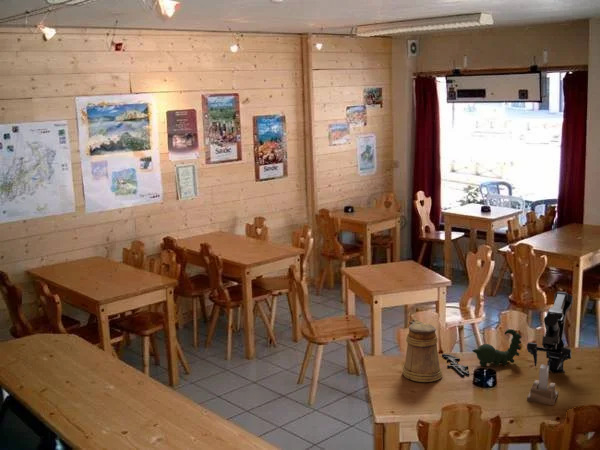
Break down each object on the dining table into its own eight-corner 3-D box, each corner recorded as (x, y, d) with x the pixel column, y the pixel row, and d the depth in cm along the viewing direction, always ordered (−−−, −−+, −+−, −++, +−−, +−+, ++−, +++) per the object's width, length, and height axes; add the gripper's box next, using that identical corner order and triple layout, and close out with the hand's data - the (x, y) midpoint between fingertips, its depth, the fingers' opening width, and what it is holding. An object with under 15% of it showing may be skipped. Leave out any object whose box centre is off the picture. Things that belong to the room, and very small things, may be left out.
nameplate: (435, 354, 365) (453, 352, 367) (434, 357, 365) (453, 355, 367) (457, 375, 339) (477, 373, 341) (457, 378, 339) (477, 376, 341)
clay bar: (540, 391, 319) (541, 364, 317) (547, 392, 318) (548, 365, 315) (538, 395, 315) (539, 367, 313) (545, 396, 314) (546, 369, 311)
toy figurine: (511, 362, 361) (465, 363, 355) (516, 326, 358) (470, 326, 352) (521, 369, 352) (474, 370, 346) (526, 332, 349) (479, 332, 343)
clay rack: (532, 389, 325) (533, 378, 324) (557, 394, 319) (558, 383, 318) (527, 400, 314) (527, 388, 313) (553, 405, 309) (553, 393, 308)
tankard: (412, 385, 331) (413, 334, 326) (393, 366, 354) (393, 318, 349) (448, 380, 336) (449, 330, 331) (426, 362, 358) (427, 314, 353)
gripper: (528, 325, 324) (522, 356, 317) (572, 331, 315) (566, 364, 308) (531, 336, 333) (525, 367, 325) (573, 342, 324) (568, 374, 317)
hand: (546, 367), depth 319 cm, fingers open, 9 cm apart
